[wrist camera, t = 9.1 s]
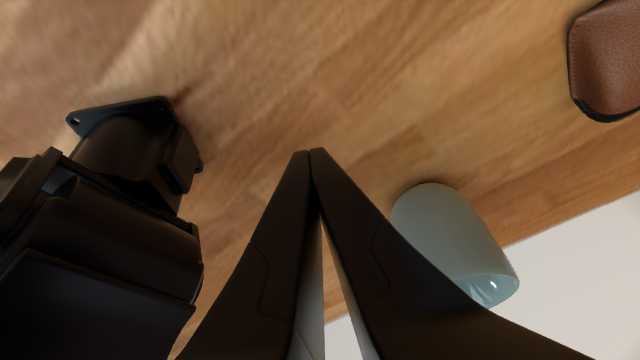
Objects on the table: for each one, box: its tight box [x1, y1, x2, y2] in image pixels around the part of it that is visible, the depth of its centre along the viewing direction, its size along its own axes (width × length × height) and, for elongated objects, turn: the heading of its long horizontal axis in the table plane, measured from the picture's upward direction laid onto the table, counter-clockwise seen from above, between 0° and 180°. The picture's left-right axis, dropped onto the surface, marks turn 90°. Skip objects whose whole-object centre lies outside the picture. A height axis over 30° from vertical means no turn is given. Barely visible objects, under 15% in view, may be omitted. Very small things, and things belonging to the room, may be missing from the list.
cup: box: [389, 183, 519, 309], centre depth 27 cm, size 8×8×10 cm
